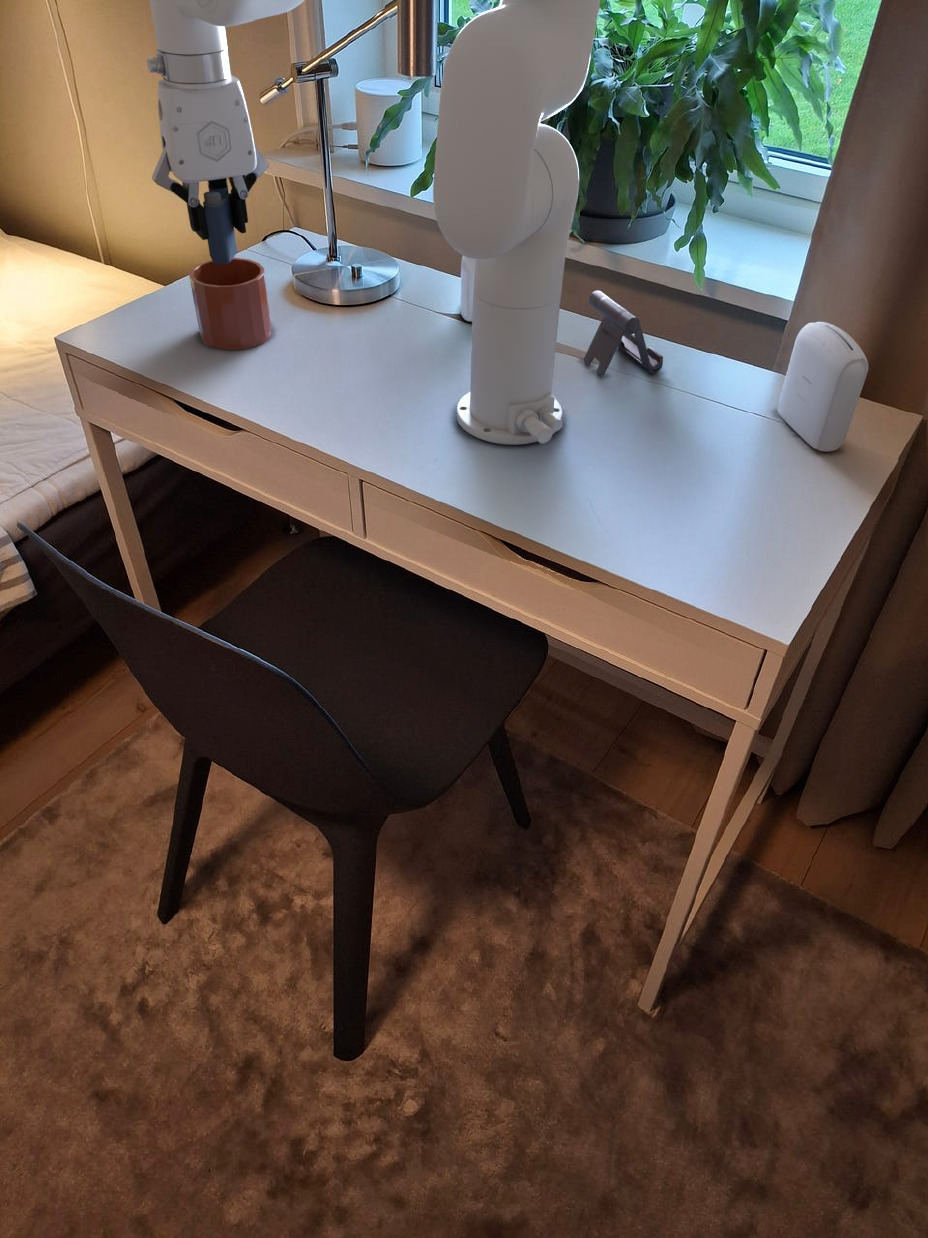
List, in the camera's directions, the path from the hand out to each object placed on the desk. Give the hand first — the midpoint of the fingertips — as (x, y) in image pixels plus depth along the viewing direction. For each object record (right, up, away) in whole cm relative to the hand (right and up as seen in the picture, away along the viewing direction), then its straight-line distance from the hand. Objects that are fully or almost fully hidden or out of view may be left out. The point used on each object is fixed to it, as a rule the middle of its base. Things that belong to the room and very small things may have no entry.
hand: (220, 231), depth 116 cm
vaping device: (0, -3, +2) cm, 4 cm away
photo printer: (+71, -26, -6) cm, 76 cm away
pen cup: (0, -10, +9) cm, 14 cm away
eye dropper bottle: (+33, -6, +15) cm, 36 cm away
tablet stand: (+51, -15, +5) cm, 53 cm away
